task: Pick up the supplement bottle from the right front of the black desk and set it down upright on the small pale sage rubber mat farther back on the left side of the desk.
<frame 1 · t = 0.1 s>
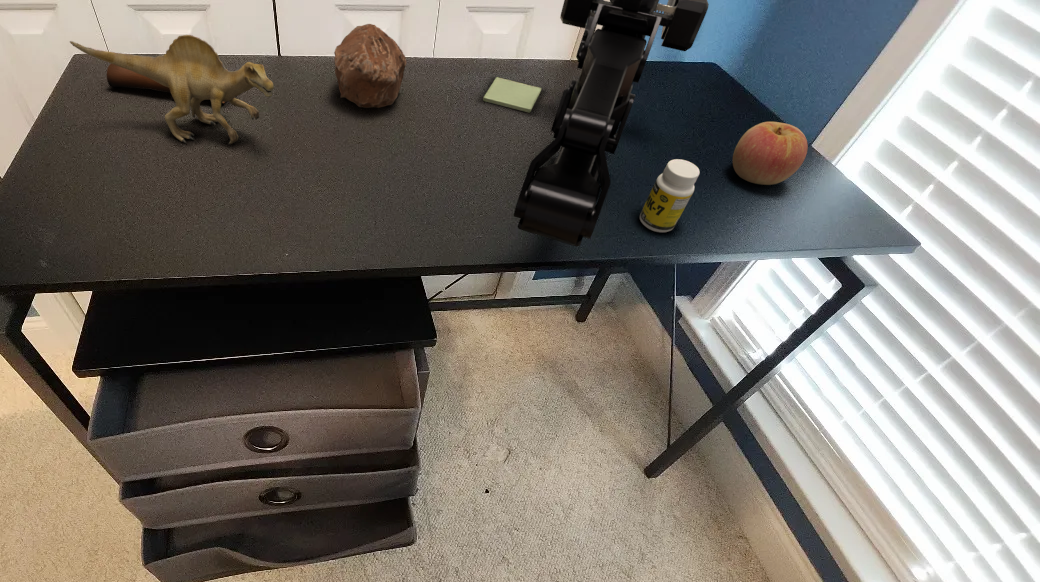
decorative rock: (368, 98, 96), on the table
dinosaur figurine: (198, 131, 87), on the table
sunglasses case: (176, 88, 94), on the table
apple: (752, 178, 89), on the table
supplement bottle: (655, 223, 80), on the table
mat: (512, 96, 100), on the table
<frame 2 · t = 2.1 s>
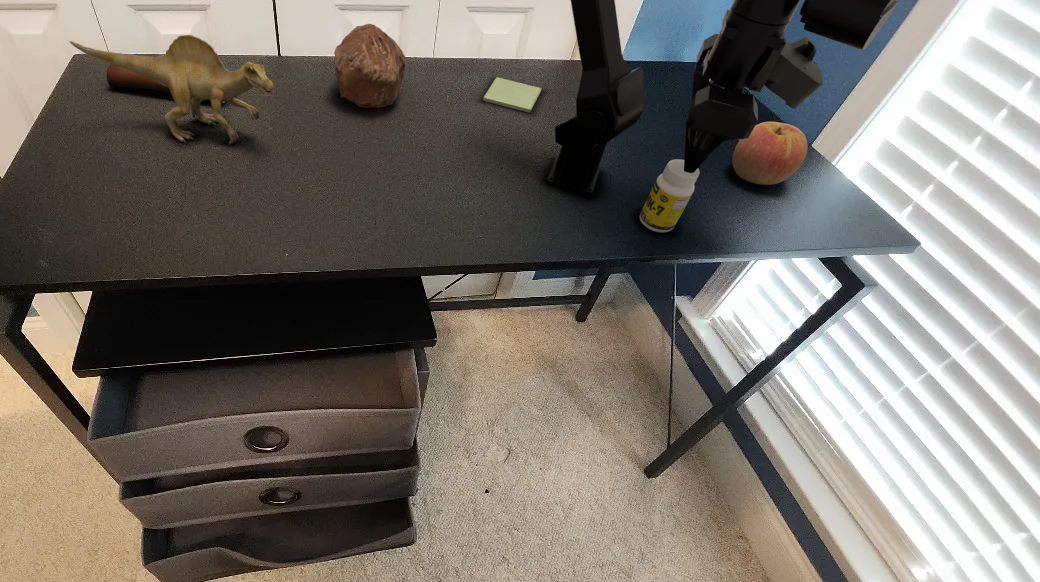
hand: (691, 152, 72), 11 cm above the table, tool pointing down, fingers open, 9 cm apart
nothing on the table moved.
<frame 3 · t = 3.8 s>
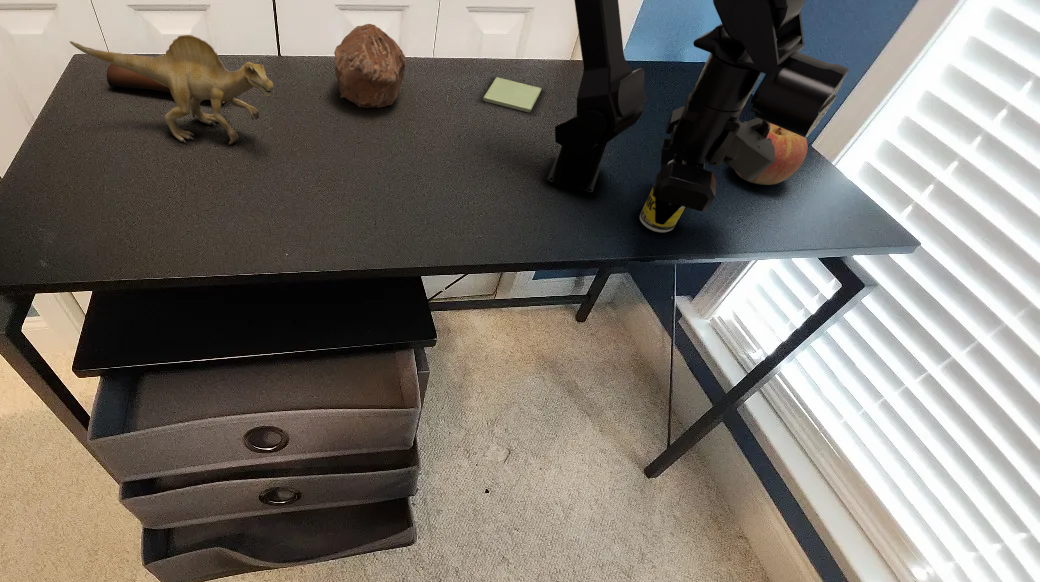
hand: (661, 212, 79), 2 cm above the table, tool pointing down, fingers closed on supplement bottle, 5 cm apart
supplement bottle: (655, 223, 80), on the table, touching gripper
everything else where it was.
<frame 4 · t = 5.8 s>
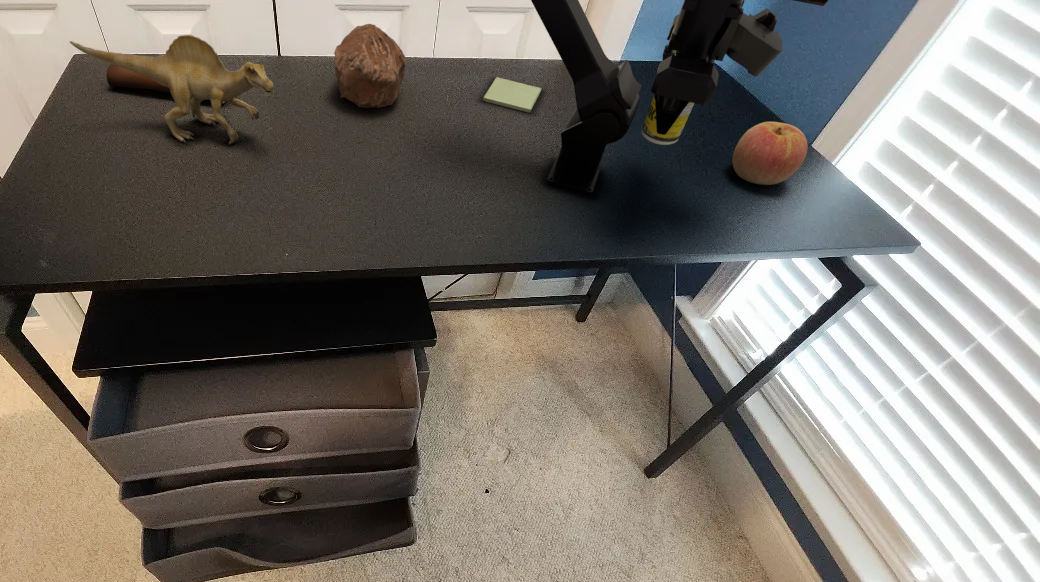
hand: (663, 124, 75), 11 cm above the table, tool pointing down, fingers closed on supplement bottle, 5 cm apart
supplement bottle: (658, 137, 77), point 9 cm above the table, touching gripper
everything else where it was.
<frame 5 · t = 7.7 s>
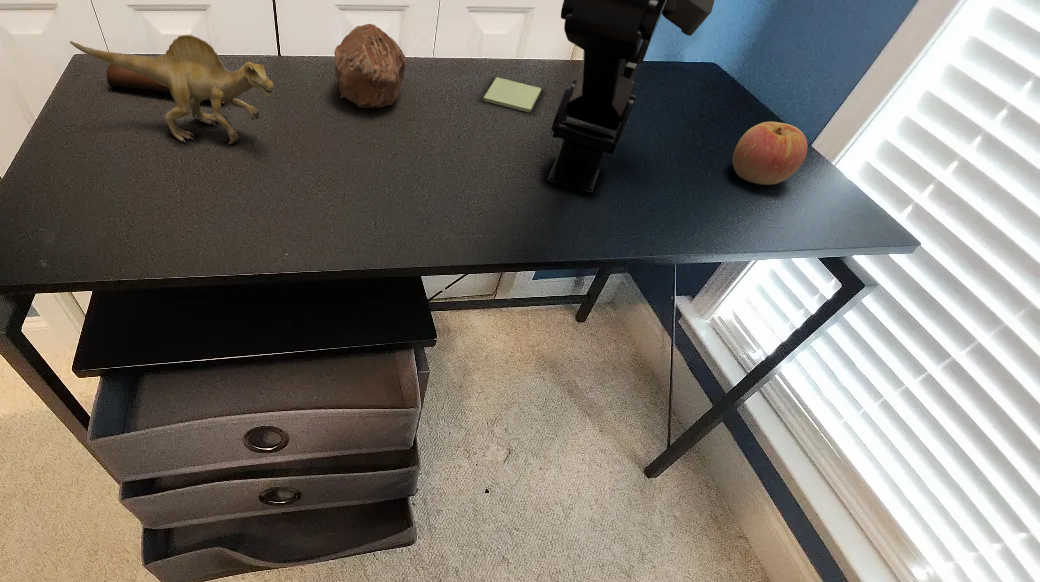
hand: (612, 78, 82), 11 cm above the table, tool pointing down, fingers closed on supplement bottle, 5 cm apart
supplement bottle: (608, 90, 83), point 9 cm above the table, touching gripper
everything else where it was.
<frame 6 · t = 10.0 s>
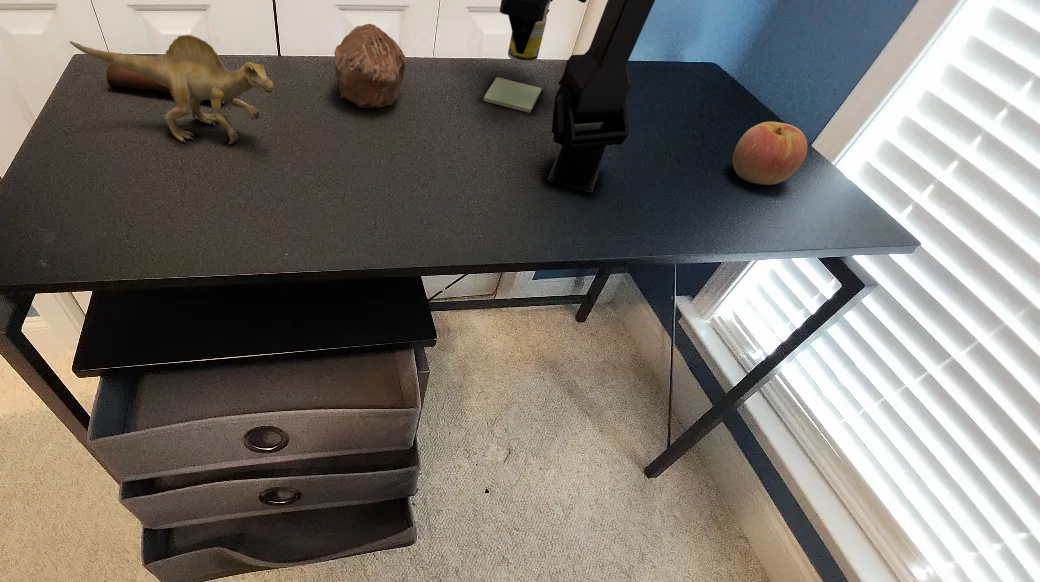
hand: (523, 46, 93), 8 cm above the table, tool pointing down, fingers closed on supplement bottle, 5 cm apart
supplement bottle: (521, 58, 95), point 6 cm above the table, touching gripper
everything else where it was.
when the fingers open (2 cm above the table, at t = 11.8 s): supplement bottle stays where it is, resting on mat.
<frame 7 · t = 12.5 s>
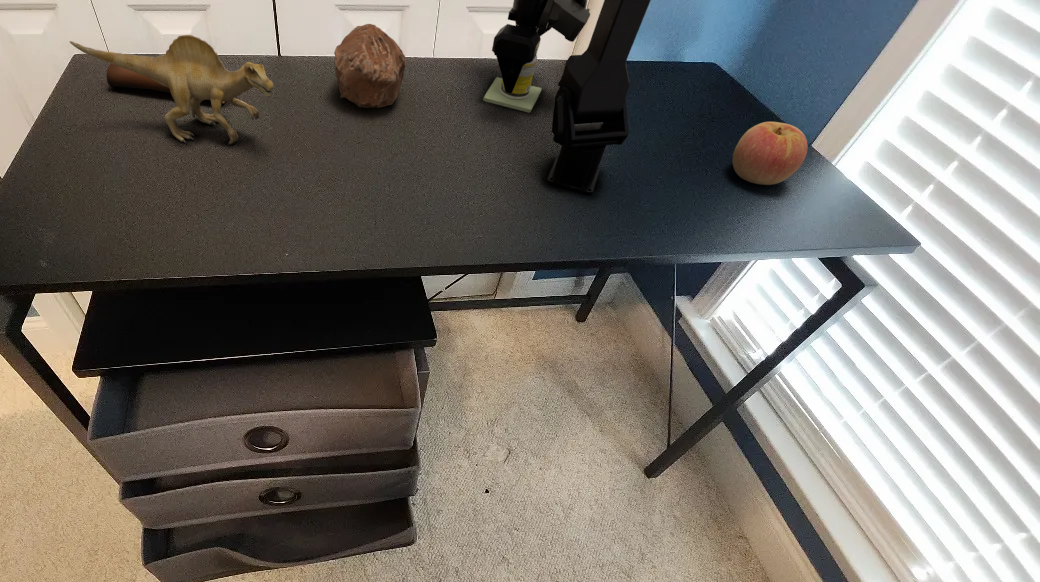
hand: (515, 80, 97), 3 cm above the table, tool pointing down, fingers open, 9 cm apart
supplement bottle: (513, 94, 99), resting on mat
everything else where it was.
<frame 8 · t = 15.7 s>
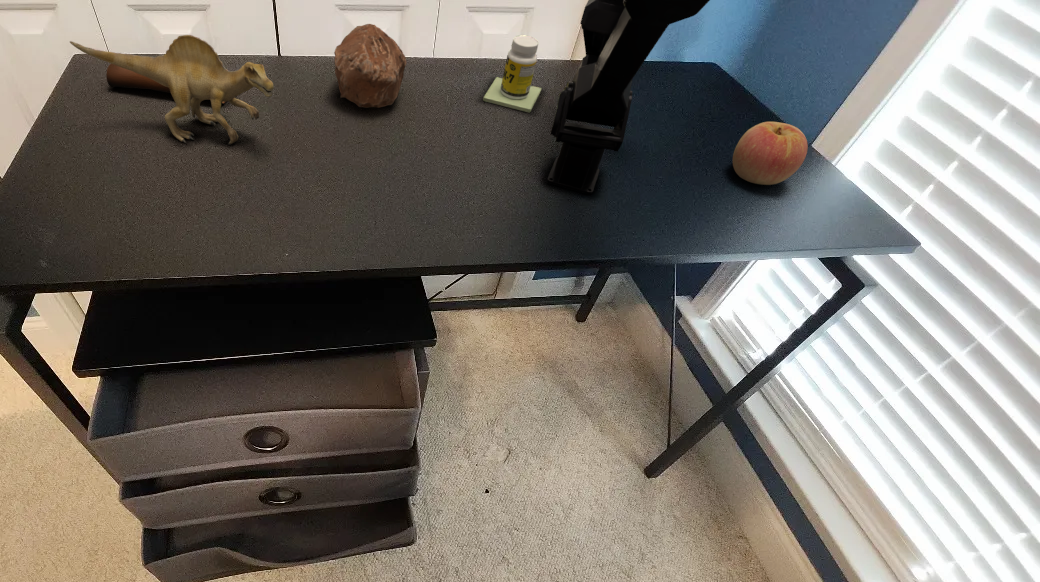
hand: (597, 61, 83), 12 cm above the table, tool pointing down, fingers open, 9 cm apart
nothing on the table moved.
at the end: supplement bottle inside the target area on the mat (0.2 cm from its centre), point 0.4 cm above the mat's base; supplement bottle tilted 0°; the gripper is holding nothing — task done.
